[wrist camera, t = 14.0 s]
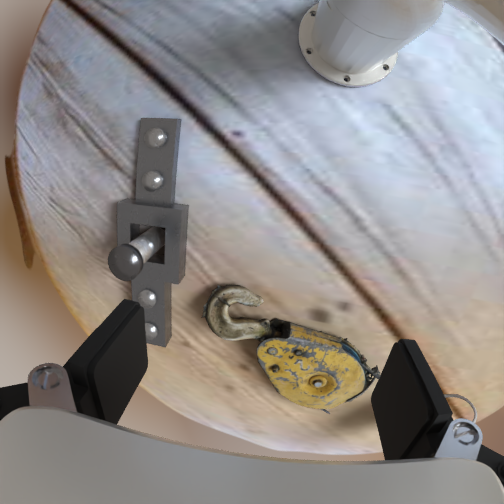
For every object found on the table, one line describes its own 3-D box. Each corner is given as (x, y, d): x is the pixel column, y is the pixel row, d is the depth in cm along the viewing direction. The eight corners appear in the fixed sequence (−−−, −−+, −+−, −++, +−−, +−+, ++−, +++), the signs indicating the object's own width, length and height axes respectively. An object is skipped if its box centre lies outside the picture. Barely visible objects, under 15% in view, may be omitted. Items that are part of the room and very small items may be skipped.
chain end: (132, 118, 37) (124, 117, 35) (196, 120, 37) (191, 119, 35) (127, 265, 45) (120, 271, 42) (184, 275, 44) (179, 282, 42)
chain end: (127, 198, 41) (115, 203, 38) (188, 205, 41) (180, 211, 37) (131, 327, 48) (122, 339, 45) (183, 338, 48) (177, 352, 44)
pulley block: (239, 271, 36) (393, 394, 41) (249, 248, 41) (389, 367, 46) (177, 331, 43) (324, 429, 47) (191, 308, 48) (325, 404, 52)
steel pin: (143, 221, 42) (107, 244, 32) (170, 224, 42) (138, 249, 32) (143, 248, 43) (108, 277, 34) (169, 252, 43) (139, 283, 34)
